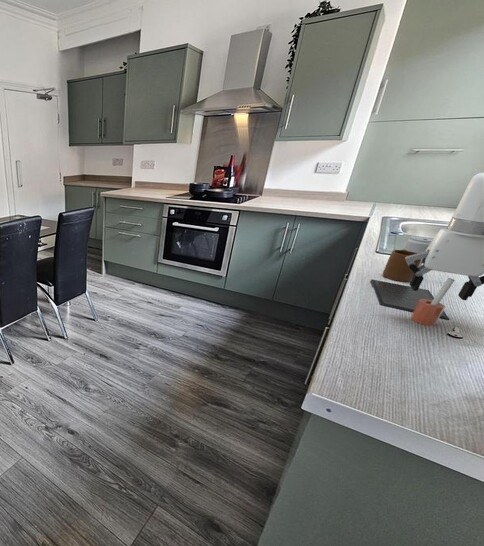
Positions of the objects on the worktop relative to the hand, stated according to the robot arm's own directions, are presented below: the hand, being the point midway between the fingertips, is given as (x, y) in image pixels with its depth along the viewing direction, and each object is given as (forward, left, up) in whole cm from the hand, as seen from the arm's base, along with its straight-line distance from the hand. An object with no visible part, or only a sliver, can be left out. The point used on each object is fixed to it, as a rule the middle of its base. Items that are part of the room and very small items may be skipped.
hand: (437, 293), depth 80 cm
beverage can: (-5, -52, -9) cm, 53 cm away
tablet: (+1, -16, -9) cm, 18 cm away
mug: (0, -39, -9) cm, 40 cm away
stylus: (0, 0, -8) cm, 8 cm away
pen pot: (0, 0, -9) cm, 9 cm away
